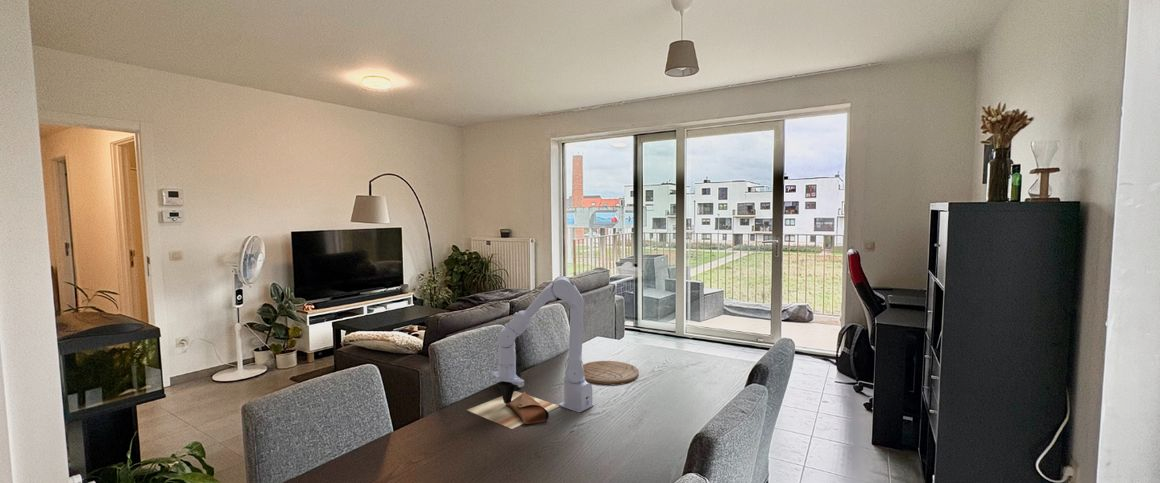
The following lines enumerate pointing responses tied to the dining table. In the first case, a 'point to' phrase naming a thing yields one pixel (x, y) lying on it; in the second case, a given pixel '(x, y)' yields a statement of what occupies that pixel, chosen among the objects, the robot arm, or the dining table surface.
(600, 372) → the trivet
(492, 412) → the beige flat square sheet
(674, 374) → the dining table surface
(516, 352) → the black angular block
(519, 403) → the sunglasses case
